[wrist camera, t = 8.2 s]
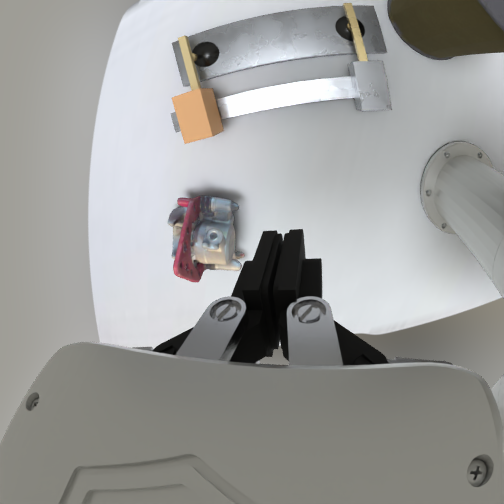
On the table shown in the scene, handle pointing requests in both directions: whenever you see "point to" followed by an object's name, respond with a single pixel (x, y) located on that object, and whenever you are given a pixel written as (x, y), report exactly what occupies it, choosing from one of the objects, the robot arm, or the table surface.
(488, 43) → the canister
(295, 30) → the strip
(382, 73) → the fixed leg
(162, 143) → the table surface
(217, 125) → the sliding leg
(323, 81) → the rail
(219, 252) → the brake caliper
